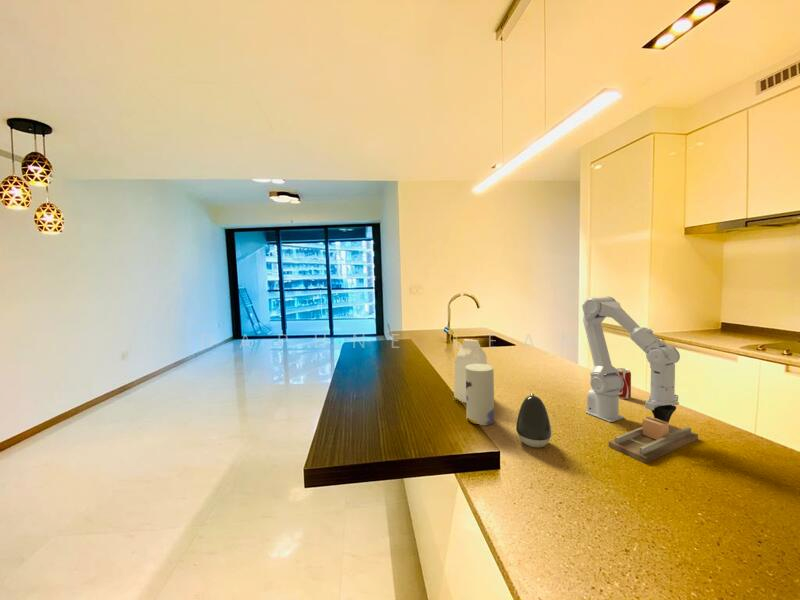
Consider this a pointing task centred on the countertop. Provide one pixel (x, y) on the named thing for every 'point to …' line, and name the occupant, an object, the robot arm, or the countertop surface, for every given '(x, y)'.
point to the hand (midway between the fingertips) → (661, 427)
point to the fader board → (652, 443)
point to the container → (480, 393)
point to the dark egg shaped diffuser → (533, 422)
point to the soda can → (625, 383)
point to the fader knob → (655, 428)
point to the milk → (466, 356)
